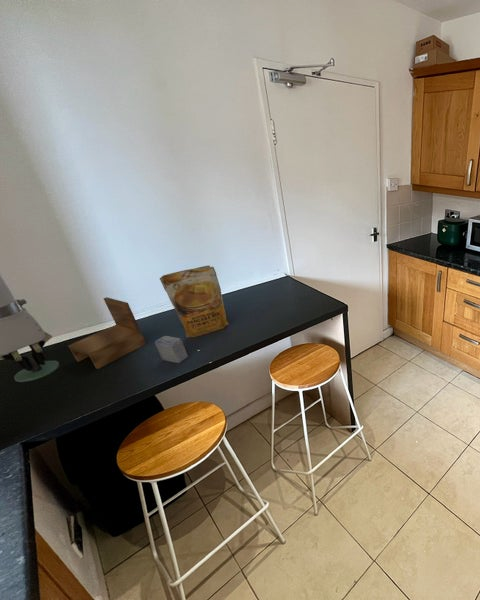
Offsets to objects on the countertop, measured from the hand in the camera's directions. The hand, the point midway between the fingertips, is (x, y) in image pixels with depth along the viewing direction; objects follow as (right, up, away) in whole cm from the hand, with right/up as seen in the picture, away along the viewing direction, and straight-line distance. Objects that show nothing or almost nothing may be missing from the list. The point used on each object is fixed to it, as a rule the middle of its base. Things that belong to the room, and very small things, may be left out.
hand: (34, 366), depth 91 cm
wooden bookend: (-6, -1, +32) cm, 32 cm away
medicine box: (+21, -3, +28) cm, 35 cm away
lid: (0, -2, +1) cm, 2 cm away
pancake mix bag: (+22, +6, +46) cm, 51 cm away
